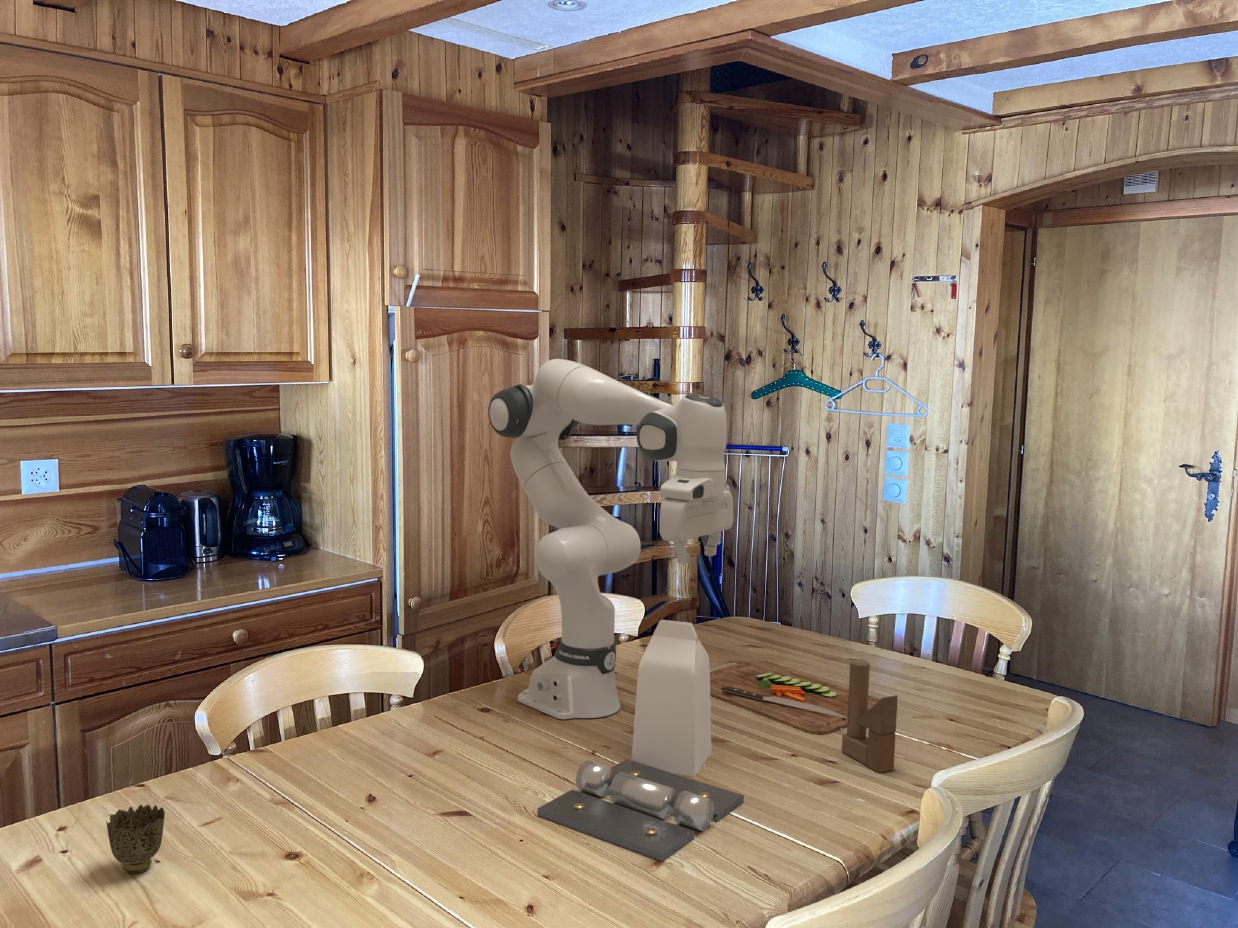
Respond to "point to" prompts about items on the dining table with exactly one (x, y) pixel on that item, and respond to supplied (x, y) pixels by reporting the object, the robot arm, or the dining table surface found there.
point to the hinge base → (633, 827)
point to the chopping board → (784, 696)
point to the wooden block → (869, 723)
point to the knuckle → (643, 795)
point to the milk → (673, 702)
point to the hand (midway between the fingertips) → (696, 559)
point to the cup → (136, 836)
